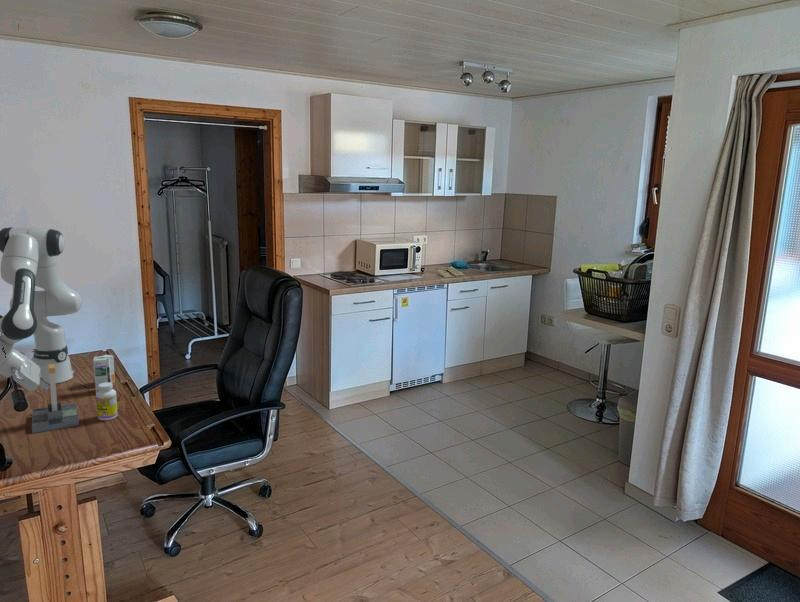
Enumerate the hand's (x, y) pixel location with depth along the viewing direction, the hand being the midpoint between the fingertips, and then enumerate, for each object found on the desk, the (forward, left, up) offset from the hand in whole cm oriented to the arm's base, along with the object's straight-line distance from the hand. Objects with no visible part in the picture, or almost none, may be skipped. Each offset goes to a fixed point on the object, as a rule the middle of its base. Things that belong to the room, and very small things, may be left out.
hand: (48, 387), depth 203 cm
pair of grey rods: (-8, +8, -13) cm, 17 cm away
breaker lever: (+1, +1, -10) cm, 10 cm away
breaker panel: (+1, +1, -13) cm, 13 cm away
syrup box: (-7, +30, -13) cm, 34 cm away
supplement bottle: (+15, +11, -13) cm, 23 cm away
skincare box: (-13, +37, -13) cm, 42 cm away
